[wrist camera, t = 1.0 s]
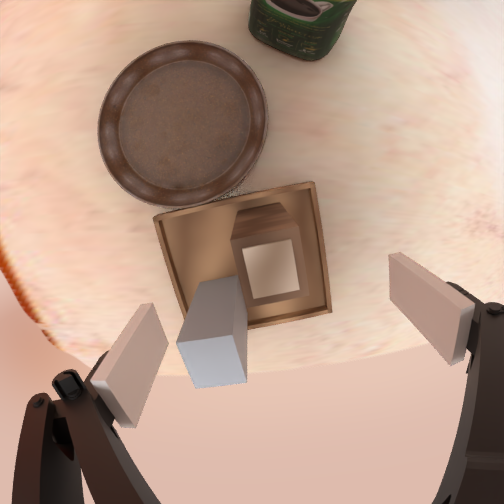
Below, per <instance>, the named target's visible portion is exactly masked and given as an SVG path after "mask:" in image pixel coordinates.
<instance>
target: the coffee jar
mask: <svg viewBox="0 0 504 504" xmlns="http://www.w3.org/2000/svg"><path fill="white" fill-rule="evenodd" d="M356 1H357V0H252V1H251V6H250V11H249V17H248V27H249V30H250V32H251V33H252V35H253V36H254V37H256V38H257V39H259V40H260V41H262V42H264V43H266V44H268V45H270V46H272V47H274V48H276V49H278V50H281V51H283V52H285V53H288V54H290V55H293V56H296V57H298V58H302V59H305V60H317V59H320V58H322V57H324V56H326V55H327V54H328V53H329V51H330V50H331V49H332V47H333V46H334V44H335V43H336V41H337V40H338V38H339V36H340V34H341V32H342V29H343V27H344V25H345V22H346V20H347V17H348V15H349V13H350V11H351V9H352V7H353V6H354V4H355V3H356Z"/></svg>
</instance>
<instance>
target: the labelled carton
mask: <svg viewBox="0 0 504 504" xmlns="http://www.w3.org/2000/svg"><path fill="white" fill-rule="evenodd" d="M230 243H231V247H232V251H233V255H234V259H235V263H236V267H237V272H238V276H239V280H240V284H241V288H242V292H243V296H244V300H245V304H246V308H250V307H255V306H260V305H265V304H271V303H276V302H281V301H285V300H290V299H295V298H300V297H305V296H309V288H308V281H307V274H306V268H305V261H304V255H303V249H302V243H301V237H300V231H299V226H298V225H297V223H296V222H295V221H294V220H293V218H292V217H291V216H290V214H289V213H288V212H287V211H286V209H285V208H284V207H283V206H282V204H281V203H280V202H277V203H272V204H267V205H262V206H258V207H253V208H248V209H243V210H239V211H237V214H236V218H235V222H234V226H233V230H232V234H231V238H230Z"/></svg>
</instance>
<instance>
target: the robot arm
mask: <svg viewBox="0 0 504 504" xmlns="http://www.w3.org/2000/svg"><path fill="white" fill-rule="evenodd" d="M389 278H390V300H391V301H392V302H393V303H394V304H395V305H396V306H397V307H398V308H399V309H400V311H401V312H402V313H403V314H404V315H405V316H406V317H407V318H408V319H409V320H410V321H411V322H412V323H413V325H414V326H415V327H416V328H417V329H418V330H419V331H420V332H421V333H422V334H423V336H424V337H425V338H426V339H427V340H428V341H429V342H430V343H431V345H432V346H433V347H434V348H435V349H436V350H437V351H438V352H439V354H440V355H441V356H442V357H443V358H444V359H445V361H446V362H447V363H448V364H449V365H450V366H452V365H454V364H456V363H458V362H460V361H463V360H464V357H465V353H466V349H468V350H469V351H470V352H471V357H470V360H469V364H468V368H467V371H466V373H468V378H467V384H466V391H465V396H464V402H463V407H462V412H461V417H460V421H459V426H458V430H457V434H456V438H455V441H454V445H453V449H452V452H451V455H450V459H449V462H448V465H447V468H446V471H445V474H444V477H443V479H442V482H441V485H440V487H439V490H438V493H437V495H436V497H435V499H434V501H433V502H432V504H504V305H502V304H500V303H495V302H490V303H486V304H484V303H483V302H481V301H480V300H479V299H477V298H476V297H474V296H473V295H472V294H469V292H467V291H466V290H464V289H463V288H462V287H460V286H459V285H457V284H454V283H451V282H445V281H443V280H442V279H440V278H439V277H437V276H436V275H434V274H433V273H431V272H430V271H428V270H427V269H426V268H424V267H423V266H421V265H420V264H418V263H417V262H415V261H413V260H412V259H410V258H409V257H407V256H406V255H404V254H403V253H401V252H398V253H394V254H390V255H389ZM168 344H169V343H168V341H167V338H166V336H165V333H164V331H163V328H162V326H161V323H160V320H159V318H158V315H157V313H156V310H155V307H154V304H153V303H148V304H142V305H140V307H139V308H138V309H137V311H136V312H135V314H134V315H133V317H132V318H131V319H130V321H129V322H128V324H127V325H126V327H125V328H124V330H123V331H122V333H121V334H120V335H119V337H118V338H117V340H116V341H115V343H114V344H113V346H112V347H111V349H110V350H109V351H107V352H106V353H104V354H103V355H102V356H101V357H100V358H99V360H98V361H97V363H96V365H95V366H94V367H93V370H91V372H90V373H89V375H88V376H87V378H86V379H85V381H84V382H83V381H82V379H81V378H80V376H79V374H78V373H77V371H76V370H73V369H70V370H66V371H63V372H61V373H60V374H58V375H57V376H56V377H55V378H54V379H53V381H52V386H53V387H54V389H55V390H56V392H57V394H58V395H59V397H60V398H61V399H60V400H55V401H52V400H51V398H50V397H49V395H48V394H47V393H39V394H36V395H34V396H33V397H32V398H31V399H30V401H29V402H28V404H27V408H26V412H25V416H24V420H23V425H22V429H21V434H20V439H19V445H18V451H17V457H16V465H15V472H14V481H13V492H12V504H84V497H83V488H82V477H81V469H82V472H83V475H84V477H85V480H86V483H87V485H88V488H89V490H90V493H91V495H92V497H93V500H94V502H95V504H161V503H160V501H159V500H158V499H157V497H156V496H155V494H154V493H153V491H152V490H151V489H150V487H149V486H148V484H147V483H146V481H145V480H144V478H143V476H142V475H141V473H140V472H139V470H138V469H137V467H136V465H135V464H134V462H133V460H132V459H131V457H130V455H129V453H128V452H127V450H126V448H125V446H124V444H123V443H122V441H121V439H120V437H119V435H118V433H117V431H116V430H115V428H114V427H113V425H112V424H113V421H114V419H116V421H117V422H118V423H119V425H120V426H121V427H124V428H136V427H137V424H138V421H139V418H140V416H141V413H142V410H143V408H144V405H145V403H146V400H147V397H148V394H149V392H150V389H151V387H152V384H153V382H154V379H155V377H156V374H157V372H158V369H159V367H160V364H161V362H162V359H163V357H164V354H165V352H166V349H167V347H168Z"/></svg>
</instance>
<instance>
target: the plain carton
mask: <svg viewBox="0 0 504 504" xmlns="http://www.w3.org/2000/svg"><path fill="white" fill-rule="evenodd" d="M247 320H248V313H247V309H246V305H245V301H244V297H243V293H242V289H241V285H240V281H239V277H238V275H235V276H230V277H225V278H220V279H215V280H209V281H204V282H199V285H198V287H197V290H196V292H195V295H194V297H193V300H192V302H191V305H190V307H189V310H188V313H187V315H186V318H185V320H184V323H183V326H182V328H181V331H180V333H179V336H178V339H177V341H176V344H177V347H178V349H179V352H180V354H181V356H182V359H183V361H184V363H185V366H186V368H187V370H188V373H189V375H190V377H191V379H192V381H193V384H194V386H195V388H206V387H216V386H224V385H232V384H240V383H246V382H247Z"/></svg>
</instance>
